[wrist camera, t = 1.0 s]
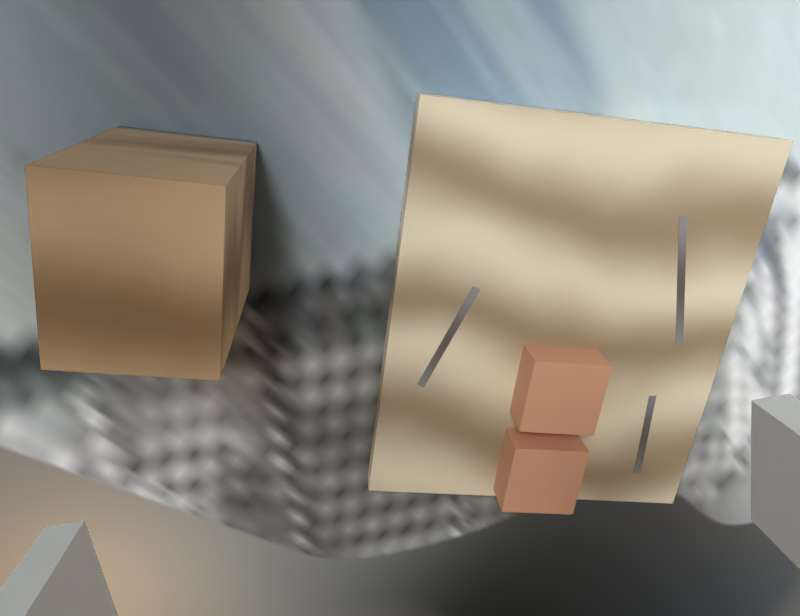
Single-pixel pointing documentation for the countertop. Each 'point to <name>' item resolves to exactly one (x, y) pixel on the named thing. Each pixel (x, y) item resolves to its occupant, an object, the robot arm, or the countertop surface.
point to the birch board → (562, 285)
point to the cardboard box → (142, 252)
